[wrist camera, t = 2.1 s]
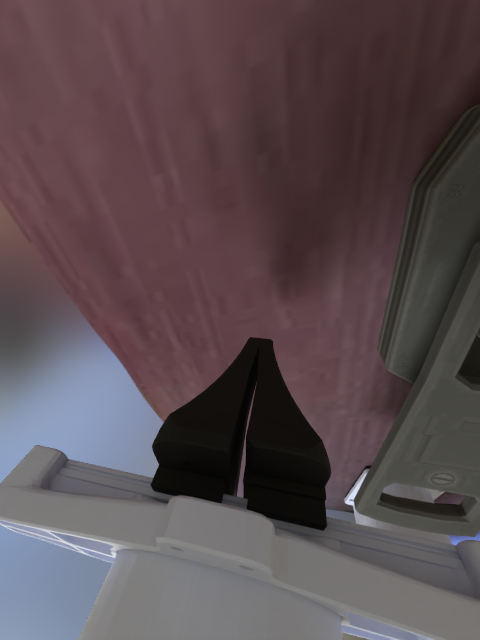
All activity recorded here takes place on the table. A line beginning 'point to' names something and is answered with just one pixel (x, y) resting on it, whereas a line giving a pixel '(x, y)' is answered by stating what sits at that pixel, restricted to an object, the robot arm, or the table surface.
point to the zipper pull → (435, 346)
